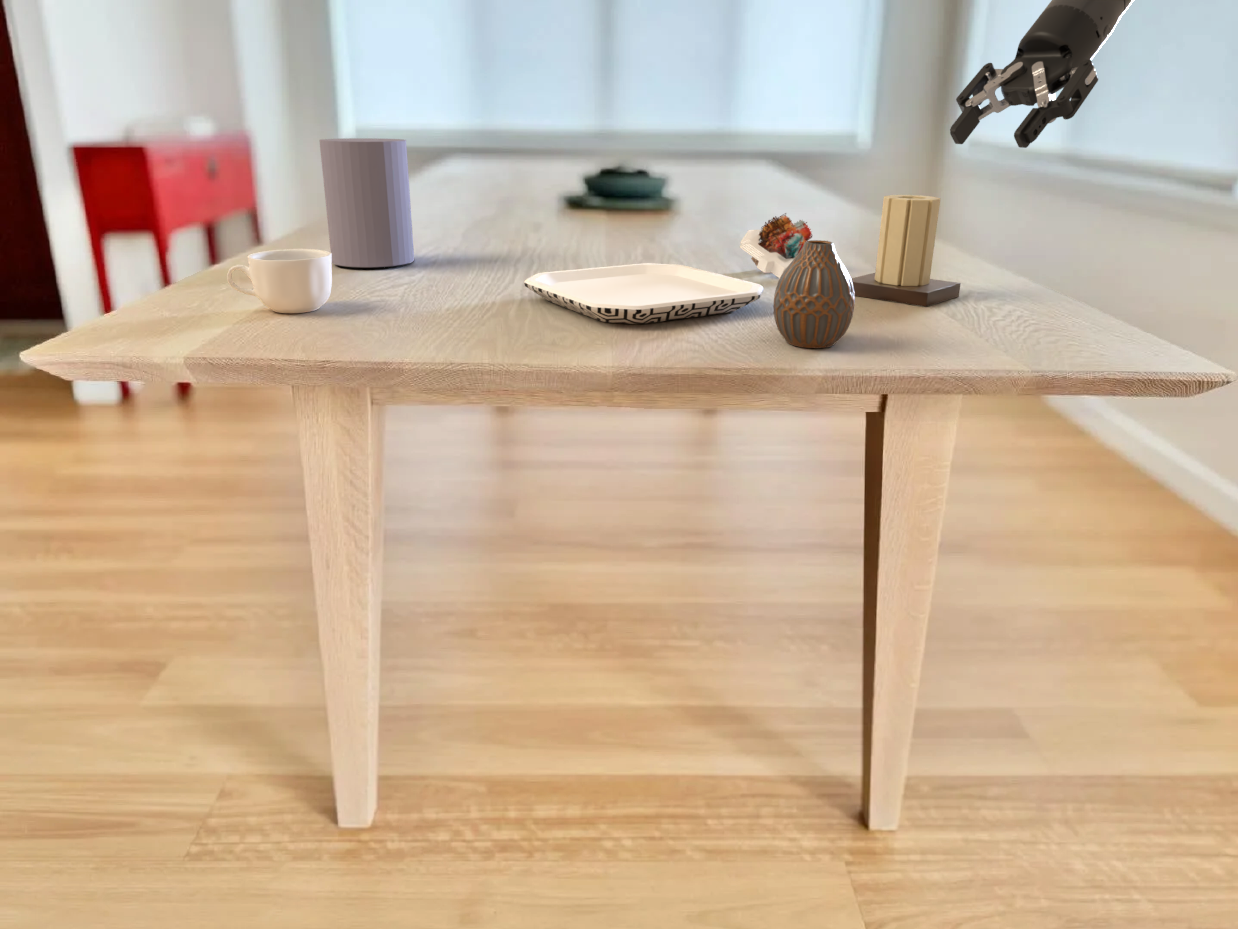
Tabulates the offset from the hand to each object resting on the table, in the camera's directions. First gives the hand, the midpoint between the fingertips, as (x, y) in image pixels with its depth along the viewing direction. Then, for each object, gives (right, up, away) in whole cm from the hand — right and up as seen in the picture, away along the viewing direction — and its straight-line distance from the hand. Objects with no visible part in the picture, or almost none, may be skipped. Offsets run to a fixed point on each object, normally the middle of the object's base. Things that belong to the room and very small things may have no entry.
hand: (986, 140), depth 102 cm
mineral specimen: (-20, -11, +15) cm, 27 cm away
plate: (-38, -19, -5) cm, 43 cm away
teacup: (-74, -20, -9) cm, 77 cm away
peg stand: (-9, -17, +1) cm, 19 cm away
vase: (-24, -25, -20) cm, 40 cm away
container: (-72, -10, +17) cm, 75 cm away
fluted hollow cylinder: (-9, -16, 0) cm, 18 cm away
